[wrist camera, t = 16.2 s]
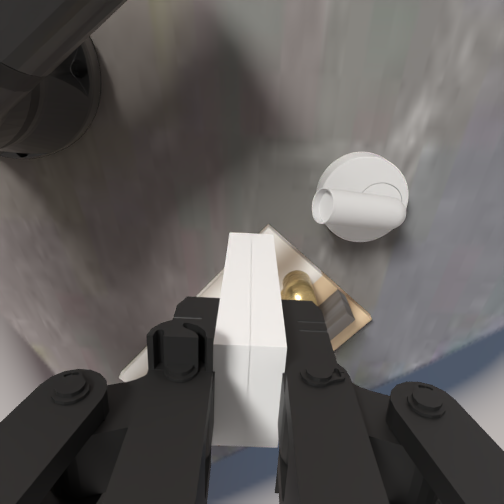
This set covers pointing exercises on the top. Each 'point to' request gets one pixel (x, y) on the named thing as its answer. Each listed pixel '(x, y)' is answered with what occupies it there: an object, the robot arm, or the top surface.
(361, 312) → the door plate
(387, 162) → the wall hook
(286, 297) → the latch lever
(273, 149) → the top surface
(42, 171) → the top surface
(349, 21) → the top surface
